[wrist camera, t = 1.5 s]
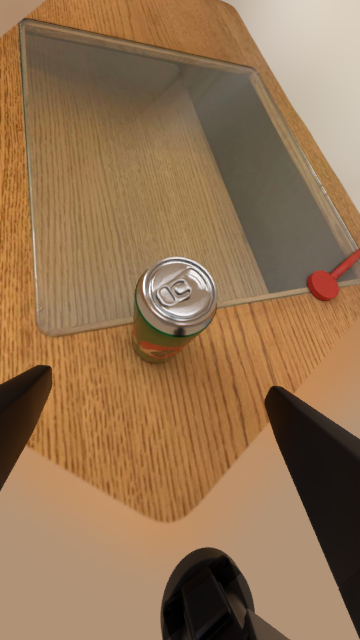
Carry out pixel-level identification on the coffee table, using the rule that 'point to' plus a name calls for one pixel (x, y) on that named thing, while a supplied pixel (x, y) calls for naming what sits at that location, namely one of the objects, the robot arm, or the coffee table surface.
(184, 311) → the soda can
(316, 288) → the spoon
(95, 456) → the coffee table surface
